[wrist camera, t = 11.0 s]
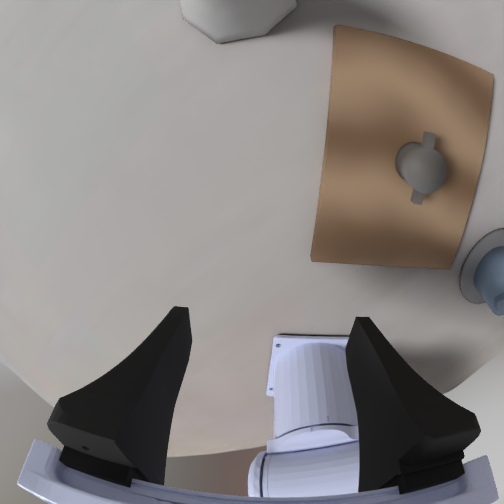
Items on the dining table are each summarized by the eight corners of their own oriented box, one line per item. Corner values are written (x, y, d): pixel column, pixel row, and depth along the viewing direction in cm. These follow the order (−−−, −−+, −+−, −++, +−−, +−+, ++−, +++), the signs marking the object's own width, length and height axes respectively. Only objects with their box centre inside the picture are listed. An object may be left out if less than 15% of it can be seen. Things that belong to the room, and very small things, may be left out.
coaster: (501, 300, 24) (502, 302, 24) (447, 301, 24) (449, 304, 24) (530, 232, 20) (532, 234, 20) (477, 223, 20) (480, 225, 20)
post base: (446, 264, 22) (461, 285, 20) (310, 255, 22) (315, 279, 20) (487, 73, 14) (512, 76, 11) (333, 26, 14) (345, 17, 12)
